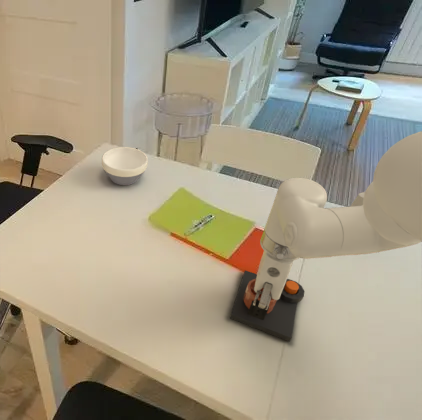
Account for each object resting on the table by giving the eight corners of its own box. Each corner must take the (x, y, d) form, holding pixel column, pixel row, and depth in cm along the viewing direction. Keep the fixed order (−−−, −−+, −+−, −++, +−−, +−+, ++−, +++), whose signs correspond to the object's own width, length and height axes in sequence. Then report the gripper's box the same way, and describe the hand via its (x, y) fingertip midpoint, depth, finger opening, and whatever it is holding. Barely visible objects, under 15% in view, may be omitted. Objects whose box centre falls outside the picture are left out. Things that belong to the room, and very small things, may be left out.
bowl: (144, 193, 115) (146, 172, 110) (98, 189, 116) (97, 168, 112) (148, 168, 126) (149, 148, 121) (105, 164, 128) (105, 145, 123)
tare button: (297, 287, 82) (299, 283, 81) (295, 296, 80) (298, 291, 79) (284, 283, 83) (286, 278, 82) (283, 291, 81) (285, 287, 80)
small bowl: (279, 306, 80) (285, 293, 77) (259, 320, 77) (265, 306, 74) (256, 287, 84) (261, 274, 81) (236, 299, 81) (241, 286, 78)
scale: (301, 293, 84) (305, 284, 82) (293, 343, 75) (298, 334, 73) (243, 273, 89) (246, 264, 87) (229, 318, 79) (232, 309, 77)
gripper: (300, 279, 61) (271, 338, 72) (309, 220, 73) (284, 278, 84) (253, 264, 64) (232, 323, 75) (269, 209, 76) (250, 266, 87)
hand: (259, 299), depth 79 cm, fingers open, 9 cm apart
